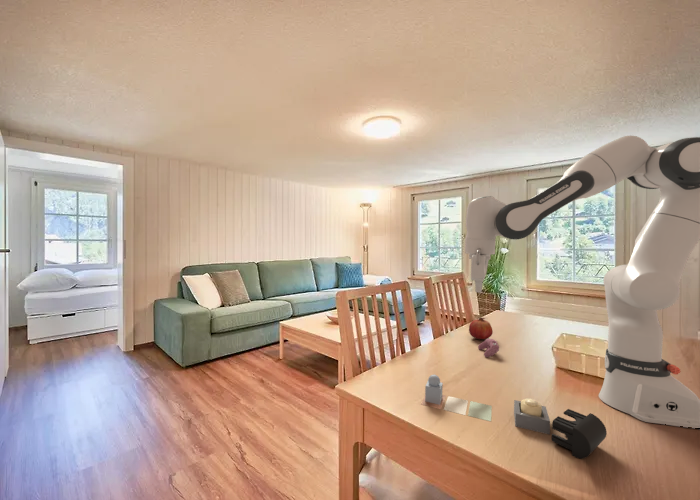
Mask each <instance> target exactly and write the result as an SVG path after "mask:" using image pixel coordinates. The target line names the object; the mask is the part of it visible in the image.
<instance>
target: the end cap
mask: <svg viewBox="0 0 700 500" xmlns="http://www.w3.org/2000/svg"><path fill="white" fill-rule="evenodd" d="M563 415H565V416H567V417H569V418H572V419H574V420H569V419H566V418H564V417H562V416H559V415H557V417H556V418H553V420H552V423H551V429H552V430H555V431H557V432H559V433H561V434H563V435H565V436H566V438H565V437H562V436H560V435H556V434H555V433H551V442H553V443H555V444H557V445H559V446H561V447H563V448H565V449H567V450H569V451H571V456H572V457H574V458H576V459H580V460H581V459H586V458H588V457H589V456H590V455H591V454H592V453H593V452H594V451H595V450H596V449H597V448H598V446H599V445H601V443H602V442H603V441H604V440H605V439H606V438H607V433H608V432H607V428H606V425H605V424H604V422H603V421H602V420H601V419H600V418H599V417H598V416H596V415H595V414H593V413H588V414H587V415H585V414H583V413H580V412H577V411H575V410H572V409H570V408H568V409H566V410H565V411H563Z"/></svg>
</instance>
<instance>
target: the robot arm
mask: <svg viewBox="0 0 700 500" xmlns="http://www.w3.org/2000/svg"><path fill="white" fill-rule="evenodd" d="M626 179H628V180H629V181H630V182H631V183H632V184H633V185H635V186H636V187H638V188H641V189H647V190H656V189H657V190H658V189H659V190H660V191H659V193H660V196H659V199H658V200H659V201H658V203H657V204H656V206H655V207H654V209H653V211H652V212H651V214H650V215H649V217H648V218H647V220H646V222H645V223H644V225H643V226H642V228H641V230H640V231H639V232H638V235H637V236H636V238H635V241H634V246H633V249H632V250H633V251H632V253H631V256H630V259H629V261H628V263H627V264H620V265H617V266H615V267H613V268H611V269H609V270H608V271H606V273H605V275H604V277H603V287H604V295H605V304H606V306H605V307H606V312H607V313H606V314H607V318H608V319H607V320H608V334H607V335H608V336H607V348H606V349H605V355H604V368H605V374H604V378H603V379H604V380H603V382H602V383H603V384H602V386H601V389H600V391H599V393H598V398H599V399H600V400H601V401H602V402H603V403H604V404H606V405H608V406H610V407H612V408H614V409H616V410H619V411H621V412H623V413H626V414H628V415H631V416H632V417H633V418H636V419H638V420H640V421H642V422H646V423H653V424H659V425H660V424H661V425H665V424H666V425H667V426H674V427H680V426H683V427H682V428H688V427H692V428H691V429H695V428H700V397H698V395H697V394H696V393H695V392H694V391H692V390H691V389H690V388H689V387H687V386H686V385H685V384H684V383H682V382H681V381H680V380H679V379H677V378H676V377H674V376H673V375H679V374H681V372H682V371H681V369H680V368H679V367H678V366H677V365H675V364H672V363H670V362H668V361H667V360H665V359H663V357H662V356H663V339H664V332H663V327H662V326H661V324H660V320H659V316H658V311H660V310H666V309H668V308H670V307H672V306H673V305H675V304H676V303H677V301H678V300H679V298H680V295H681V291H680V290H681V289H680V282H681V280H682V277H683V274H684V271H685V267H686V266H687V262H688V260H689V258H690V256H691V254H692V252H693V251H694V249H695V248H696V247H697V244H698V243H699V241H700V136H699V137H697V136H694V137H685V138H681V139H678V140H676V141H674V142H673V141H672V142H669V143H666V144H662V145H660V146H658V147H653V146H650V145H649V144H648V143H647V141H646V140H644V139H643V138H642V137H639V136H636V135H631V134H630V135H623V136H621V137H619V138H617V139H614V140H612V141H610V142H608V143H606V144H604V145H601V146H599V147H598V148H596V149H594V150H592V151H591V152H589V153H588V154H586V155H584V156H583V157H581V158H580V159H578V160H577V161H575V162H574V163H573V164H572V165H571V166H570V167H568V169H566V170H565V171H564V173H563V175H562V177H561V178H560V179H559V180H558V181H557V182H555V183H553V185H551V186H549V187H547V188H546V189H544V190H542V191H541V192H539V193H538V194H536V195H534V196H533V197H530V198H529V199H526V200H523V201H516V202H511V203H508V204H507V203H505V202H502V201H500V200H498V199H496V198H495V197H494V196H492V195H490V196H488V195H487V196H481V197H477V198H474V199H472V200H471V201H470V202H468V205H467V208H466V216H465V229H466V235H465V240H464V242H465V243H464V245H465V246H464V253H465V254H467V255H468V259H469V260H471V261H470V262H471V265H470V279H471V281H474V285H475V286H474V287H475V288H474V289H475V290H474V291H475V292H476V293H482V291H483V281H485V278H486V275H487V273H488V265H489V261H490V260H491V255H495V254H496V239H497V237H499V236H500V237H502V238H506V239H509V240H522V239H525V238H527V237H529V236H530V235H531V234H533V232H534V231H535V230H536V228H537V227H538V226H539V224H540V223H541V222H542V221H543V220H544V219H545V218H546V217H548V216H550V215H551V214H553V213H555V212H556V211H558V210H560V209H561V208H563V207H565V206H566V205H568V204H570V203H573V202H574V201H577V200H581V199H588V198H590V197H593V196H595V195H597V194H600V193H602V192H604V191H606V190H608V189H611V188H612V187H614V186H615V185H618V184H619V183H620V182H622V181H624V180H626ZM672 374H673V375H672Z"/></svg>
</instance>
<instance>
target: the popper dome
mask: <svg viewBox="0 0 700 500" xmlns="http://www.w3.org/2000/svg"><path fill="white" fill-rule="evenodd" d="M542 406H543V405H542V404H541V403H540V402H538V401H537V400H536V399H534V398H524V399H521V413H525V414H529V415H534V416H538V417H541V415H542Z"/></svg>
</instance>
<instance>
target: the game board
mask: <svg viewBox="0 0 700 500" xmlns="http://www.w3.org/2000/svg"><path fill="white" fill-rule="evenodd" d="M446 396H447V395H446V394H442V400H441V403H440V405H438V404H434V403H430V402H426V401H425V396H424V397H423V399H422V400H421V404H420V405H422V406H425V407H430V408H434V409H439V410H443V411H445V412H450V413H455V414H458V415H459V414H460V415H463V416H468V417H471V418H476V419H480V420H483V421H487V422H492V413H493V412H492V409H493V408H492V405H489V404H485V403H481V402H477V401H472V400H471V401H470V402H469V400H468V399H463V398H460V397H459V398H458V397H455V396H449V395H448V396H447V399H446ZM445 399H446V401H445ZM444 403H445V405H444ZM468 404H469V407H468ZM443 405H444V408H443ZM442 408H443V409H442ZM467 408H468V413H467ZM466 413H467V415H466Z"/></svg>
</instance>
